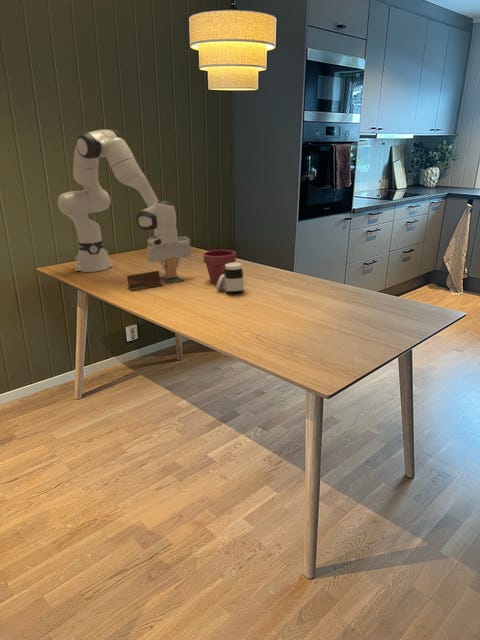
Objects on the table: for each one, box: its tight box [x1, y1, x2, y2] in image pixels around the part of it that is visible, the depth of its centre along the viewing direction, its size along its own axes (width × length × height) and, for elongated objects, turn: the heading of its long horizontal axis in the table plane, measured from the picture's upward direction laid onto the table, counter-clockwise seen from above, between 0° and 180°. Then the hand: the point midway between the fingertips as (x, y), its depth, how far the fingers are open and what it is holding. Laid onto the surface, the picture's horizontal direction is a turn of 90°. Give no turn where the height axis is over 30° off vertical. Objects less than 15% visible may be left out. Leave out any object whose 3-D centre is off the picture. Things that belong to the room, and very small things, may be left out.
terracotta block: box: [163, 257, 178, 278], centre depth 214 cm, size 4×4×9 cm
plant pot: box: [203, 249, 237, 284], centre depth 209 cm, size 14×14×13 cm
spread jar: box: [215, 262, 245, 295], centre depth 194 cm, size 12×11×12 cm
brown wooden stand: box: [126, 270, 164, 292], centre depth 205 cm, size 5×14×6 cm, turn 118°
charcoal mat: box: [160, 275, 185, 285], centre depth 216 cm, size 12×8×1 cm, turn 28°
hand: (170, 268), depth 215 cm, fingers closed on terracotta block, 4 cm apart
